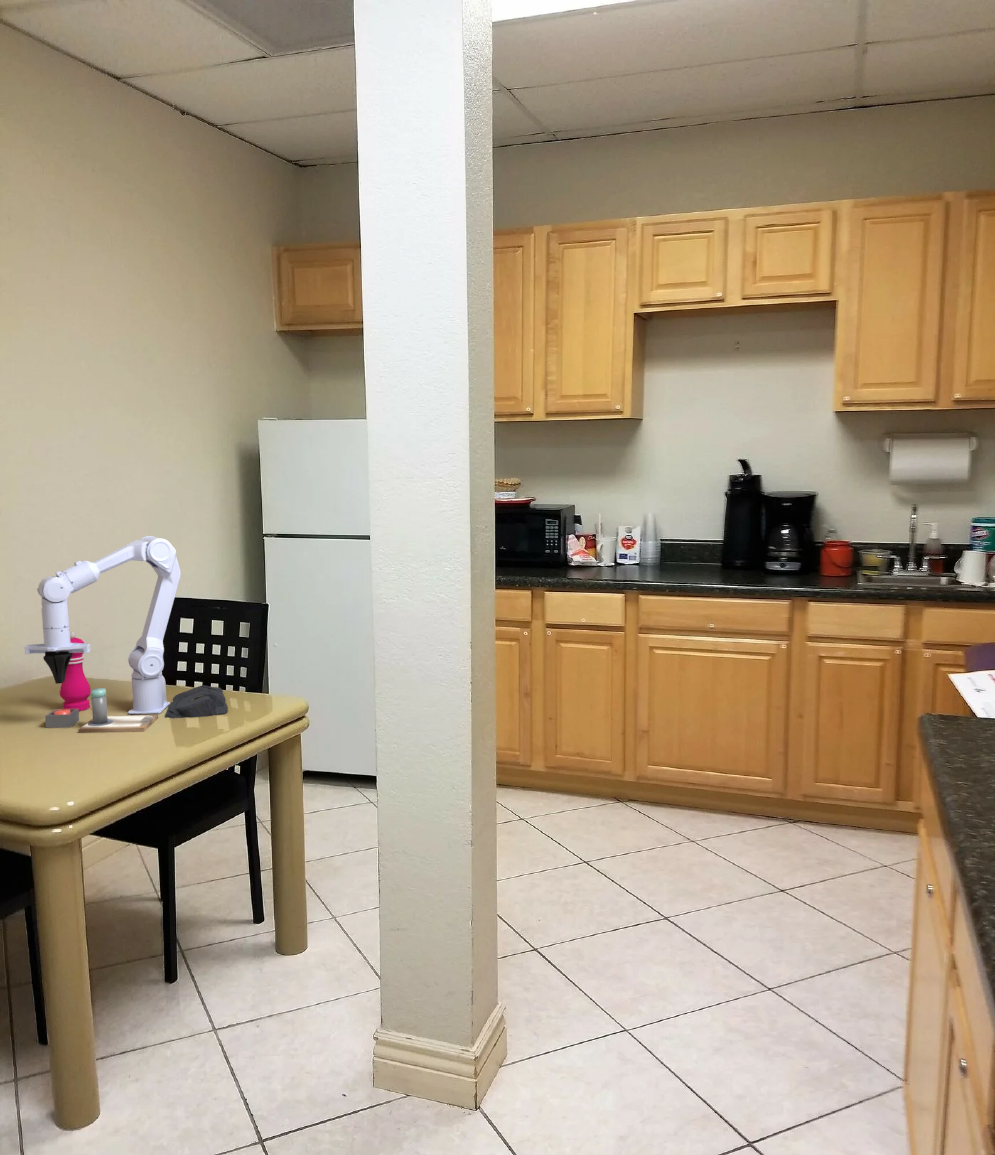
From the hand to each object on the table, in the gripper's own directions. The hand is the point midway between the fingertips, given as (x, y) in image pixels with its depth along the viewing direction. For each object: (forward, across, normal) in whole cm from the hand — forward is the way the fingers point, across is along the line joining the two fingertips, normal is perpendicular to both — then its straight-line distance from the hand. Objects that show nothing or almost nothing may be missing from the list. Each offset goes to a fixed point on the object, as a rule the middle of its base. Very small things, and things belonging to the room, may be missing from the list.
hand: (60, 682), depth 224 cm
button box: (+10, 0, 0) cm, 10 cm away
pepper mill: (+10, -2, +14) cm, 18 cm away
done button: (+9, 0, 0) cm, 9 cm away
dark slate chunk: (+11, +29, +14) cm, 34 cm away
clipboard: (+10, +14, -2) cm, 17 cm away
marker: (+9, +10, -3) cm, 14 cm away
